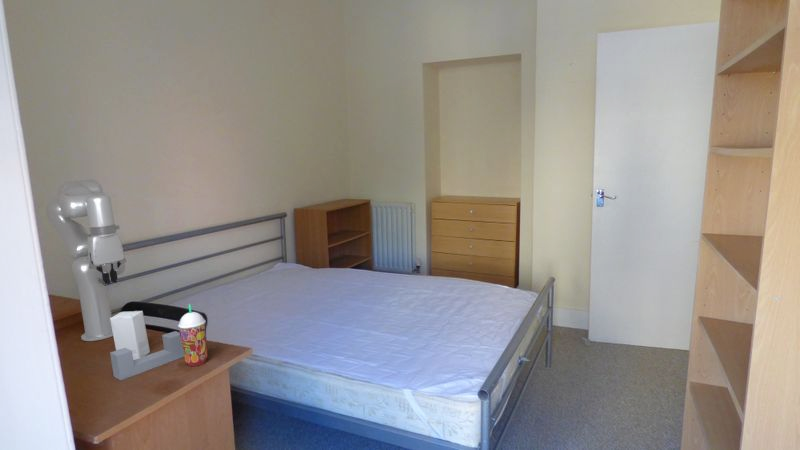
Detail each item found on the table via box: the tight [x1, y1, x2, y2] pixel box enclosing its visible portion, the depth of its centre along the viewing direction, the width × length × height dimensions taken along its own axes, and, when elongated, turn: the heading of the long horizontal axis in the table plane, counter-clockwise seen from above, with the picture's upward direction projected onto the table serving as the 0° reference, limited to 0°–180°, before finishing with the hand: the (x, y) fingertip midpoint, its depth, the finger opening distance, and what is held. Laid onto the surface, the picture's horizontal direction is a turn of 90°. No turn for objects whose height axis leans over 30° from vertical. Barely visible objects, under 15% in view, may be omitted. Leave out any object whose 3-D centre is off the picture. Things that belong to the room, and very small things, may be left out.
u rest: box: [109, 330, 185, 381], centre depth 165 cm, size 5×21×8 cm, turn 141°
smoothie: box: [177, 303, 208, 367], centre depth 165 cm, size 8×8×20 cm
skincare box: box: [110, 310, 151, 360], centre depth 173 cm, size 8×7×16 cm
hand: (110, 282), depth 176 cm, fingers closed
